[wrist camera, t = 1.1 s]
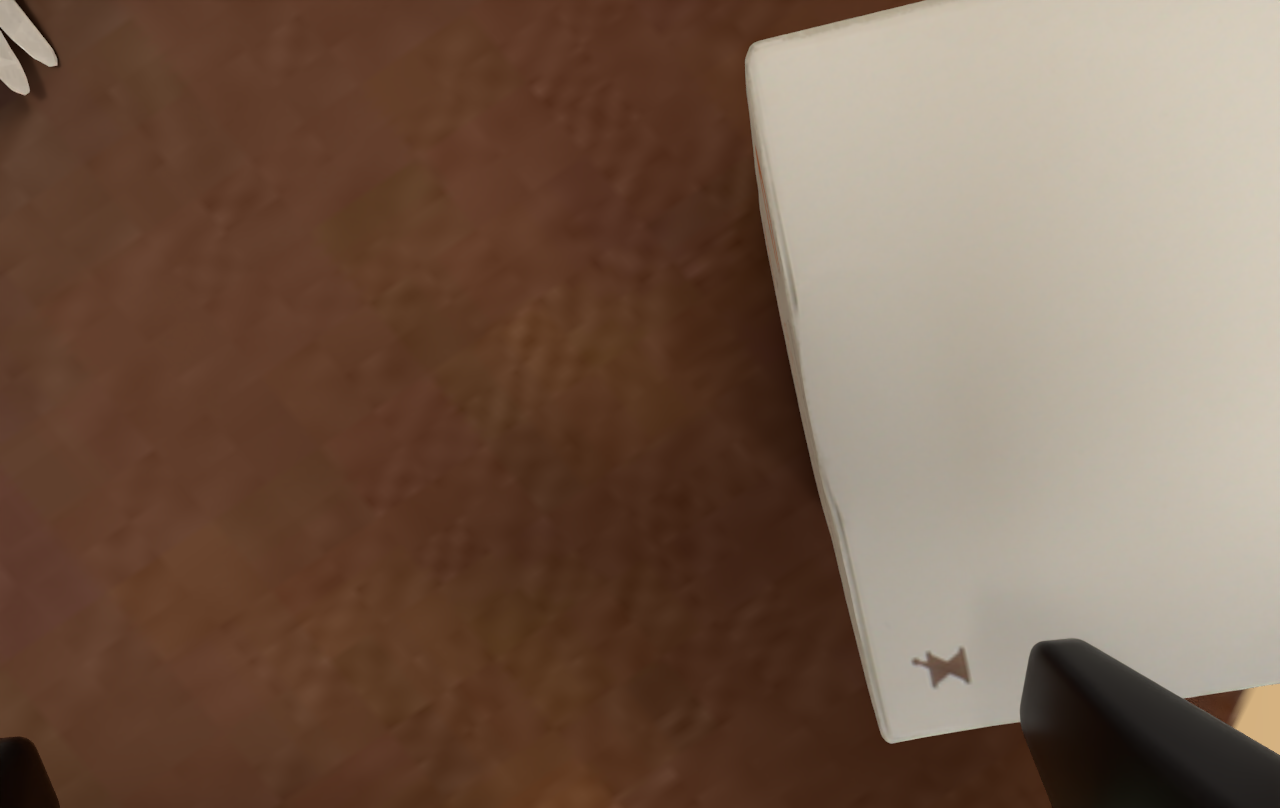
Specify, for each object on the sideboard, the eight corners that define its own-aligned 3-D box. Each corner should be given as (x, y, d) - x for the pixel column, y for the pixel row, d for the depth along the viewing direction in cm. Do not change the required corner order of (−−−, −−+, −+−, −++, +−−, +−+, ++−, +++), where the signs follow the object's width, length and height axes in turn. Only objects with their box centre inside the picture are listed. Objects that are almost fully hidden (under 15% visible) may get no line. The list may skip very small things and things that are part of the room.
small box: (1090, 471, 23) (1502, 677, 10) (822, 519, 24) (873, 763, 11) (1025, 130, 22) (1369, -128, 9) (754, 194, 23) (725, 43, 10)
